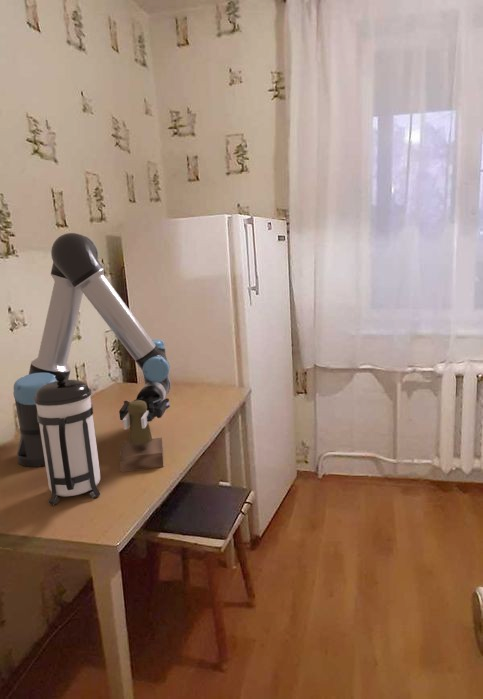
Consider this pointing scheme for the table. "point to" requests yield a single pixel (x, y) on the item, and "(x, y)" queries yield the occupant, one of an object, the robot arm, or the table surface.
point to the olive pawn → (138, 423)
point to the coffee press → (68, 438)
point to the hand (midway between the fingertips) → (133, 423)
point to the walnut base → (141, 455)
